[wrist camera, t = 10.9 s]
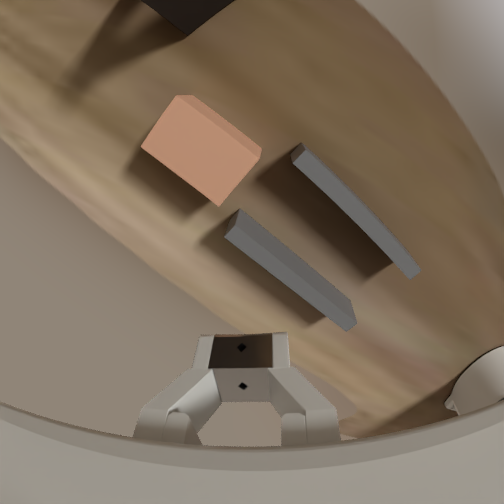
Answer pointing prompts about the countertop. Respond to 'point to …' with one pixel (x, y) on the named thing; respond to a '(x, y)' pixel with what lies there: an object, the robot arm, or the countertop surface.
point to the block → (201, 147)
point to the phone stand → (187, 11)
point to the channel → (299, 272)
